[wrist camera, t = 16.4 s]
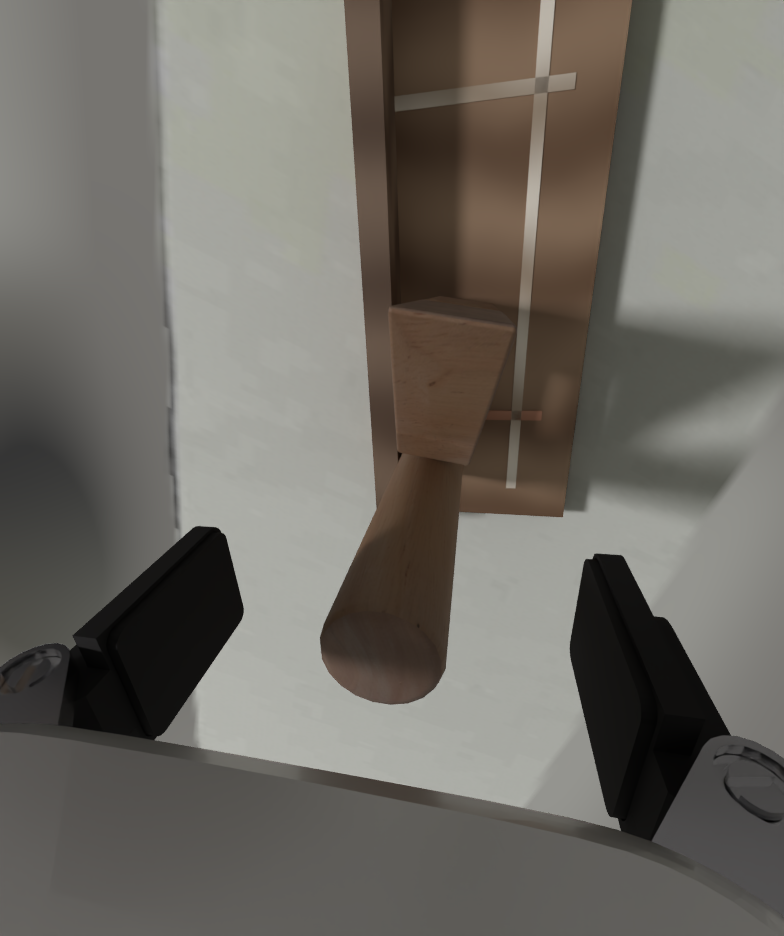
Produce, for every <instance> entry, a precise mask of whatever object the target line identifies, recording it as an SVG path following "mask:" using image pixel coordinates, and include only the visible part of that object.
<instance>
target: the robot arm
mask: <svg viewBox="0 0 784 936" xmlns="http://www.w3.org/2000/svg"><path fill="white" fill-rule="evenodd" d="M243 613H244V608H243V603H242V599H241V595H240V591H239V587H238V583H237V579H236V575H235V571H234V567H233V563H232V559H231V555H230V551H229V547H228V543H227V539H226V536H225V535H224V534H223V533H221V531H220V530H219V529H218V528H216V527H203V526H197V527H194V528H193V529H192V530H190V531H189V532H188V533H187V534H186V535H185V536H184V537H183V538H181V539H180V540H179V541H178V542H177V543H176V544H175V545H174V546H172V547H171V548H170V549H169V550H168V551H167V552H166V553H165V554H164V555H163V556H161V557H160V558H159V559H158V560H157V561H156V562H155V563H153V564H152V565H151V566H150V567H149V568H148V569H147V570H146V571H144V572H143V573H142V574H141V575H140V576H139V577H138V578H137V579H136V580H134V581H133V582H132V583H131V584H130V585H129V586H128V587H126V588H125V589H124V590H123V591H122V592H121V593H120V594H119V595H118V596H117V597H115V598H114V599H113V600H112V601H111V602H110V603H109V604H107V605H106V606H105V607H104V608H103V609H102V610H101V611H100V612H98V613H97V614H96V615H95V616H94V617H93V618H92V619H91V620H89V621H88V622H87V623H86V624H85V625H84V626H83V627H82V628H81V629H79V630H78V631H77V632H76V633H75V634H74V635H73V638H74V640H75V642H76V644H77V645H76V646H74V647H73V648H72V649H71V650H69V648H68V647H67V646H66V645H63V644H59V643H51V644H44V645H41V646H37V647H34V648H31V649H29V650H27V651H24V652H22V653H20V654H18V655H17V656H15V657H13V658H12V659H10V660H8V661H7V662H6V663H5V664H3V665H2V666H1V667H0V936H784V758H782V757H781V756H779V755H778V754H776V753H775V752H774V751H772V750H770V749H768V748H766V747H764V746H762V745H760V744H758V743H756V742H754V741H751V740H747V739H745V738H741V737H738V736H731V735H730V733H729V731H728V729H727V727H726V726H725V724H724V722H723V720H722V718H721V716H720V714H719V713H718V711H717V709H716V707H715V705H714V704H713V702H712V700H711V698H710V696H709V695H708V692H707V691H706V689H705V687H704V685H703V683H702V681H701V679H700V678H699V676H698V674H697V672H696V670H695V668H694V667H693V665H692V663H691V661H690V659H689V657H688V655H687V654H686V652H685V650H684V648H683V646H682V644H681V643H680V641H679V639H678V637H677V635H676V633H675V632H674V630H673V628H672V626H671V625H670V623H669V622H668V620H666V619H665V618H663V617H654V616H653V614H652V612H651V610H650V608H649V606H648V604H647V602H646V600H645V598H644V596H643V594H642V592H641V590H640V588H639V586H638V584H637V582H636V581H635V579H634V577H633V575H632V573H631V571H630V569H629V567H628V565H627V563H626V561H625V559H624V557H623V556H621V555H610V554H594V556H593V559H586V560H585V562H584V566H583V572H582V577H581V583H580V589H579V595H578V600H577V606H576V612H575V618H574V623H573V629H572V635H571V641H570V657H571V662H572V666H573V670H574V675H575V679H576V683H577V687H578V692H579V696H580V700H581V704H582V709H583V713H584V717H585V721H586V726H587V730H588V734H589V738H590V743H591V747H592V751H593V755H594V759H595V764H596V768H597V772H598V776H599V781H600V785H601V789H602V793H603V798H604V802H605V806H606V809H607V812H608V814H609V816H610V817H615V818H618V821H619V825H620V828H621V831H619V830H616V829H611V828H608V827H604V826H600V825H596V824H592V823H588V822H585V821H580V820H576V819H573V818H569V817H564V816H559V815H554V814H549V813H544V812H539V811H534V810H530V809H525V808H520V807H515V806H510V805H505V804H501V803H496V802H491V801H486V800H481V799H476V798H470V797H465V796H460V795H454V794H449V793H443V792H438V791H433V790H427V789H422V788H417V787H411V786H406V785H400V784H395V783H390V782H384V781H379V780H374V779H368V778H363V777H357V776H352V775H346V774H341V773H335V772H330V771H324V770H319V769H313V768H308V767H302V766H297V765H291V764H286V763H280V762H274V761H269V760H263V759H258V758H252V757H246V756H241V755H235V754H230V753H224V752H218V751H213V750H207V749H201V748H195V747H189V746H184V745H178V744H172V743H166V742H160V741H155V738H156V737H157V736H160V735H162V734H163V733H164V732H165V731H166V729H167V728H168V726H169V725H170V724H171V722H172V721H173V719H174V718H175V716H176V715H177V713H178V712H179V711H180V709H181V708H182V706H183V705H184V703H185V702H186V700H187V699H188V697H189V696H190V695H191V693H192V692H193V690H194V689H195V687H196V686H197V684H198V683H199V681H200V680H201V679H202V677H203V676H204V674H205V673H206V671H207V670H208V668H209V667H210V665H211V664H212V662H213V661H214V660H215V658H216V657H217V655H218V654H219V652H220V651H221V649H222V648H223V646H224V645H225V643H226V642H227V641H228V639H229V638H230V636H231V635H232V633H233V632H234V630H235V629H236V627H237V626H238V625H239V623H240V621H241V620H242V617H243Z"/></svg>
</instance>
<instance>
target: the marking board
mask: <svg viewBox="0 0 784 936" xmlns="http://www.w3.org/2000/svg"><path fill="white" fill-rule="evenodd" d="M344 6H345V22H346V37H347V53H348V69H349V84H350V100H351V115H352V131H353V147H354V162H355V178H356V193H357V209H358V224H359V240H360V256H361V271H362V287H363V302H364V318H365V334H366V349H367V365H368V380H369V396H370V412H371V427H372V443H373V458H374V474H375V490H376V505H377V508H378V505H379V503H380V501H381V499H382V497H383V494H384V492H385V490H386V488H387V486H388V484H389V481H390V479H391V477H392V475H393V473H394V471H395V468H396V466H397V464H398V462H399V460H400V457H401V455H402V453H400V452H398V451H397V440H396V425H395V411H394V396H393V381H392V366H391V351H390V336H389V322H388V310H389V307H391V306H393V305H398V304H403V303H408V302H413V301H418V300H423V299H424V300H425V299H429V298H433V297H438V296H444V297H451V298H458V299H464V300H471V301H478V302H484V303H491V304H493V305H494V306H496V307H497V309H498V310H499V311H501V312H503V313H504V314H505V315H506V316H507V317H508V318H509V319H510V320H511V321H512V322H513V323H514V324H515V325H516V326H517V334H516V337H515V340H514V342H513V345H512V348H511V351H510V353H509V356H508V359H507V362H506V365H505V367H504V370H503V373H502V376H501V379H500V381H499V384H498V387H497V390H496V392H495V395H494V398H493V401H492V404H491V406H490V409H489V412H488V415H487V418H486V420H485V423H484V426H483V429H482V432H481V434H480V437H479V440H478V443H477V445H476V448H475V451H474V454H473V457H472V459H471V462H470V464H469V465H465V466H464V470H463V475H462V484H461V496H460V507H459V512H475V513H494V514H513V515H531V516H550V517H563V511H564V504H565V497H566V489H567V482H568V474H569V467H570V459H571V452H572V445H573V437H574V430H575V422H576V415H577V407H578V400H579V392H580V385H581V378H582V370H583V363H584V355H585V348H586V340H587V333H588V326H589V318H590V311H591V303H592V296H593V288H594V281H595V273H596V266H597V259H598V251H599V244H600V236H601V229H602V221H603V214H604V207H605V199H606V192H607V184H608V177H609V169H610V162H611V154H612V147H613V140H614V132H615V125H616V117H617V110H618V102H619V95H620V88H621V80H622V73H623V65H624V58H625V50H626V43H627V35H628V28H629V21H630V13H631V6H632V0H344Z"/></svg>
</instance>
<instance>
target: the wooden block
mask: <svg viewBox="0 0 784 936" xmlns="http://www.w3.org/2000/svg"><path fill="white" fill-rule="evenodd" d="M388 322H389V336H390V351H391V366H392V381H393V396H394V411H395V425H396V440H397V451H398V452H400V453H402V455H401V457H400V460H399V462H398V464H397V466H396V468H395V471H394V473H393V475H392V477H391V479H390V481H389V484H388V486H387V488H386V490H385V492H384V494H383V497H382V499H381V501H380V503H379V505H378V508H377V510H376V512H375V514H374V516H373V518H372V521H371V523H370V525H369V527H368V529H367V531H366V534H365V536H364V538H363V540H362V542H361V544H360V547H359V549H358V551H357V553H356V555H355V558H354V560H353V562H352V564H351V566H350V568H349V571H348V573H347V575H346V577H345V579H344V581H343V584H342V586H341V588H340V590H339V592H338V595H337V597H336V599H335V601H334V603H333V605H332V608H331V610H330V612H329V614H328V616H327V618H326V621H325V623H324V626H323V629H322V632H321V636H320V644H321V653H322V660H323V662H324V664H325V666H326V668H327V670H328V672H329V673H330V674H331V675H332V676H333V678H334V679H335V680H336V681H337V682H338V683H339V684H340V685H341V686H343V687H344V688H346V689H347V690H349V691H350V692H352V693H353V694H355V695H357V696H359V697H362V698H364V699H367V700H370V701H372V702H378V703H384V704H390V705H391V704H404V703H410V702H413V701H415V700H418V699H421V698H423V697H425V696H426V695H427V694H428V693H429V692H431V691H432V690H433V689H434V688H435V687H436V685H437V684H438V683H439V681H440V679H441V677H442V675H443V673H444V671H445V669H446V657H447V646H448V634H449V623H450V611H451V600H452V588H453V577H454V565H455V553H456V542H457V530H458V519H459V507H460V496H461V484H462V475H463V470H464V466H465V465H469V464H470V462H471V459H472V457H473V454H474V451H475V448H476V445H477V443H478V440H479V437H480V434H481V432H482V429H483V426H484V423H485V420H486V418H487V415H488V412H489V409H490V406H491V404H492V401H493V398H494V395H495V392H496V390H497V387H498V384H499V381H500V379H501V376H502V373H503V370H504V367H505V365H506V362H507V359H508V356H509V353H510V351H511V348H512V345H513V342H514V340H515V337H516V334H517V326H516V325H515V324H514V323H513V322H512V321H511V320H510V319H509V318H508V317H507V316H506V315H505V314H504V313H503V312H501V311H499V310H498V309H497V307H496V306H494V305H493V304H491V303H484V302H478V301H471V300H464V299H458V298H451V297H444V296H438V297H433V298H429V299H425V300H424V299H423V300H418V301H413V302H408V303H403V304H398V305H393V306H391V307H389V310H388Z"/></svg>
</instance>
